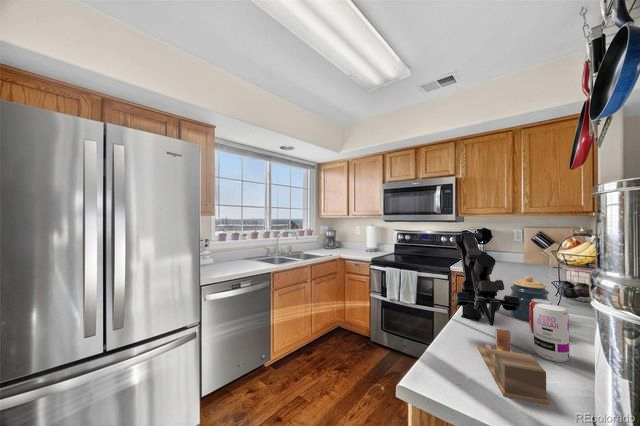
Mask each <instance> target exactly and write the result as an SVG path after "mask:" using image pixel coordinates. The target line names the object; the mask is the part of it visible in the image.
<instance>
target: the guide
mask: <svg viewBox="0 0 640 426" xmlns="http://www.w3.org/2000/svg"><path fill="white" fill-rule="evenodd" d="M477 350H478V352H479V354H480V355H481V358H482V359H483V362H484V364H485V365H486V367H487V368H488V370H489V372H490V374H491V376H492V378H493V380H494V381H495V383H496V385H497V387H498V389H499V391H500V393H501V394H502V396H503V397H509V398H513V399H514V398H515V399H520V400H524V401H530V402H534V403H540V404H541V403H542V404H545V405H550V400H549V399H548V397H547V371H546V370H545V369H544V368H543V367H542V365H540V363H539V362H538V361H536V359H535V358H534V357H533V356H532V355H531V354H528V353H521V352H515V351H513V350H512V349H511V348H510V352H509V351H501V350H496V348H492V346H491V345H490V344H484V347H482V346H477Z"/></svg>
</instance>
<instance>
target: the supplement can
mask: <svg viewBox="0 0 640 426" xmlns="http://www.w3.org/2000/svg"><path fill="white" fill-rule="evenodd" d="M569 317H570V315H569V313H568V311H567V310H566V308H565V307H562V306H560V305H555V304H553V303H552V304H544V303H538V304H536V306H535V307H534V309H533V329H534V332H533V351H534V352H535V353H536V354H537V355H538V356H540V357H541V358H543V359H546V360H548V361H552V362H557V363H565V362H567V361H569V360H570V320H569V319H570V318H569Z"/></svg>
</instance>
